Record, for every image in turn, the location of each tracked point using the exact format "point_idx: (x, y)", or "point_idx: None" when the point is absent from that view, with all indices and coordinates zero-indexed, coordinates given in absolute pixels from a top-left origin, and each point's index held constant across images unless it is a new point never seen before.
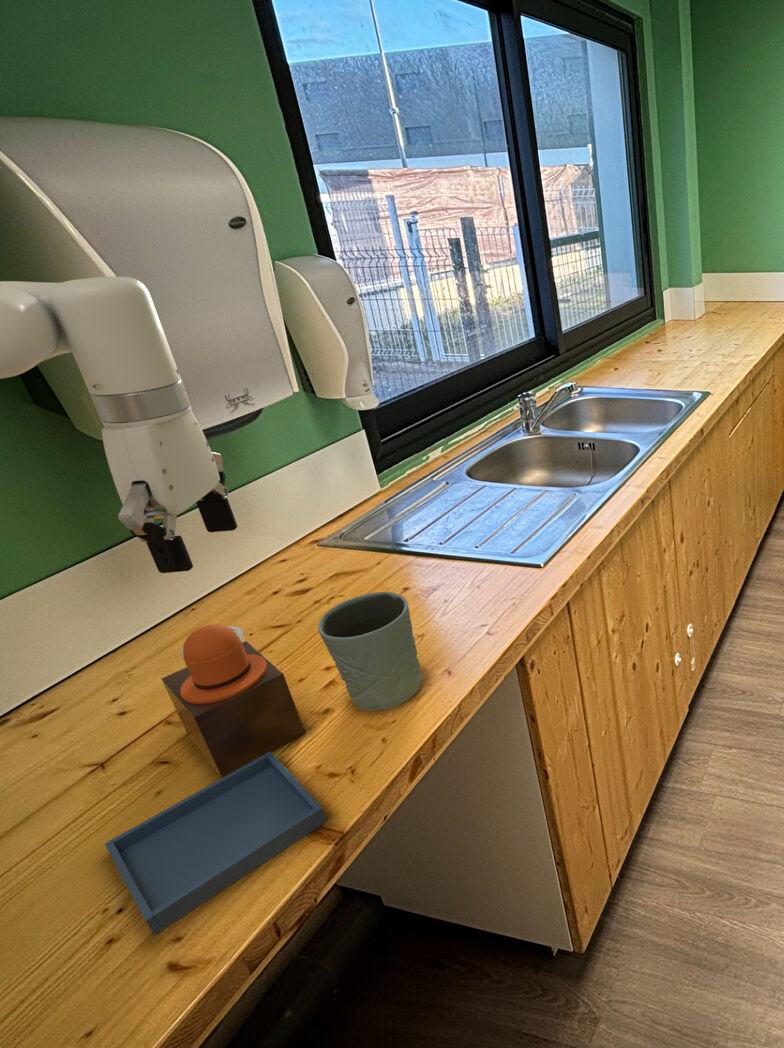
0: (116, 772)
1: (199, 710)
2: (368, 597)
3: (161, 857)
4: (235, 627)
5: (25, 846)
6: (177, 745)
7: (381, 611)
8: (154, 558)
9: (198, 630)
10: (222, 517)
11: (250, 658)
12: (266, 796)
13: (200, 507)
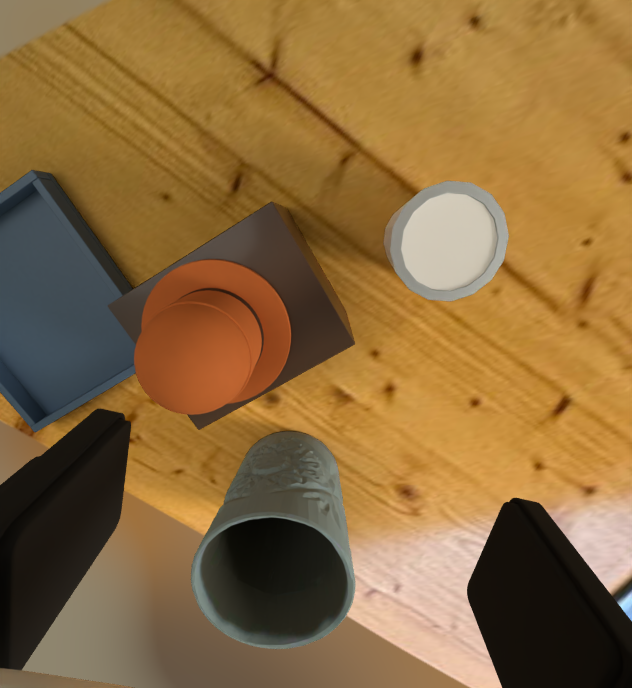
0: (238, 110)
1: (124, 310)
2: (347, 585)
3: (25, 244)
4: (487, 280)
5: (104, 24)
6: (273, 193)
7: (336, 572)
8: (55, 450)
9: (172, 366)
10: (503, 636)
11: (265, 371)
12: (103, 351)
13: (587, 637)
